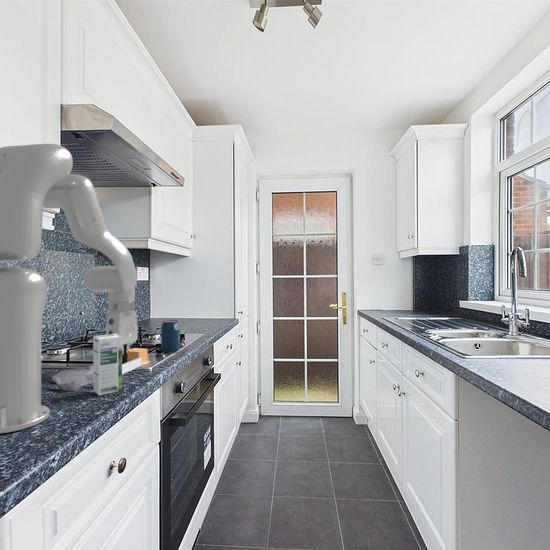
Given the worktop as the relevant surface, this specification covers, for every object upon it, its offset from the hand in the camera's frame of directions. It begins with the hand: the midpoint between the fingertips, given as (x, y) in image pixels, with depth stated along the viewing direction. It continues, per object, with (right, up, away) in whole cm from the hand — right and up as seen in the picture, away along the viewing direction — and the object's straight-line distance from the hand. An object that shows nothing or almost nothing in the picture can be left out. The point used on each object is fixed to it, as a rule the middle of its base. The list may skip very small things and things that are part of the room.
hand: (121, 365), depth 111 cm
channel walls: (-1, -2, -2) cm, 3 cm away
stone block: (-7, -2, -13) cm, 15 cm away
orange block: (+2, -1, +8) cm, 8 cm away
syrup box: (+4, -2, -18) cm, 19 cm away
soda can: (+7, -2, +28) cm, 29 cm away
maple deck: (0, -2, 0) cm, 2 cm away
